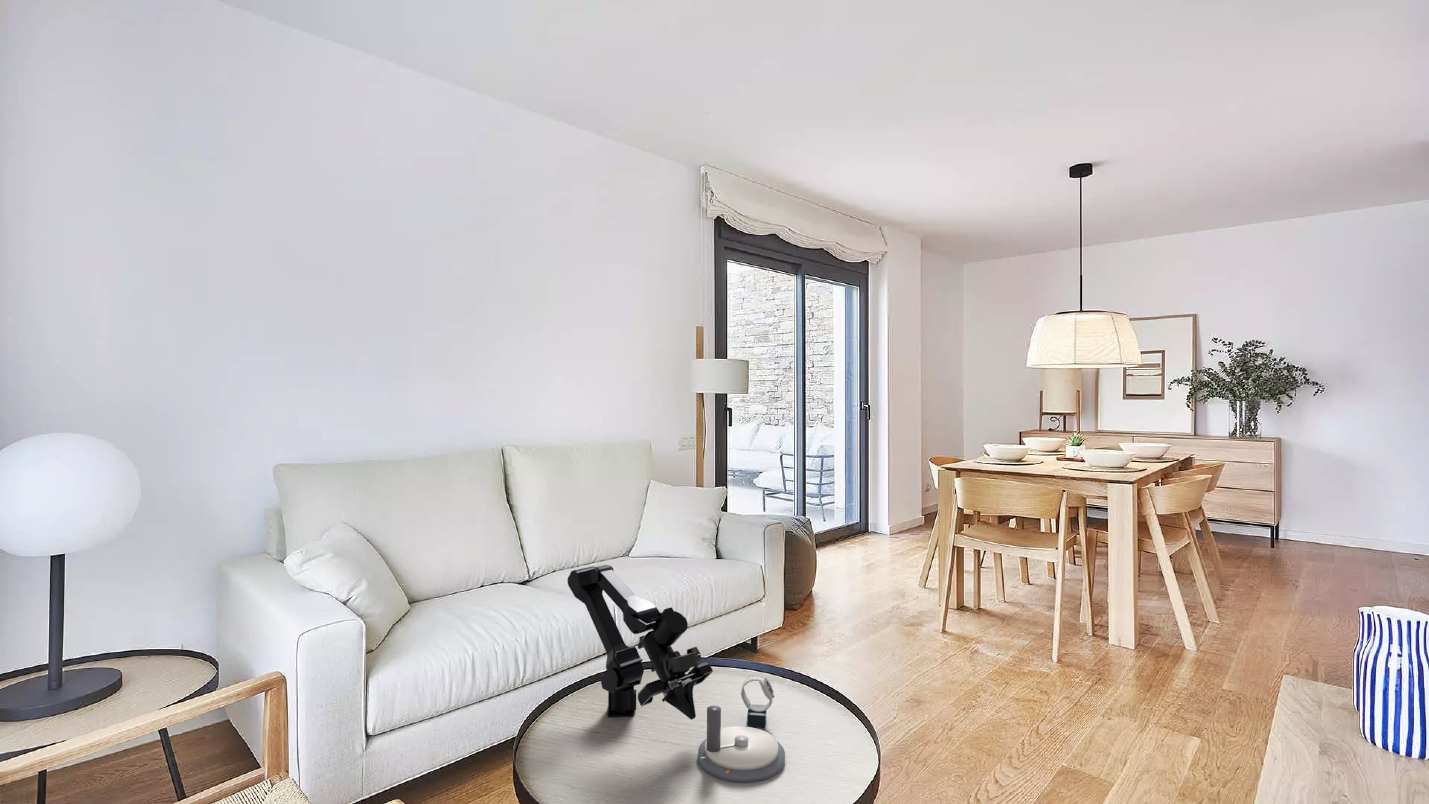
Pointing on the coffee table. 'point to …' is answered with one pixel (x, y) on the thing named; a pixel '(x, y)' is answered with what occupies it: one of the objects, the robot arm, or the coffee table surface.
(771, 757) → the dial
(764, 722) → the watch
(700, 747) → the dial base
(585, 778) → the coffee table surface
